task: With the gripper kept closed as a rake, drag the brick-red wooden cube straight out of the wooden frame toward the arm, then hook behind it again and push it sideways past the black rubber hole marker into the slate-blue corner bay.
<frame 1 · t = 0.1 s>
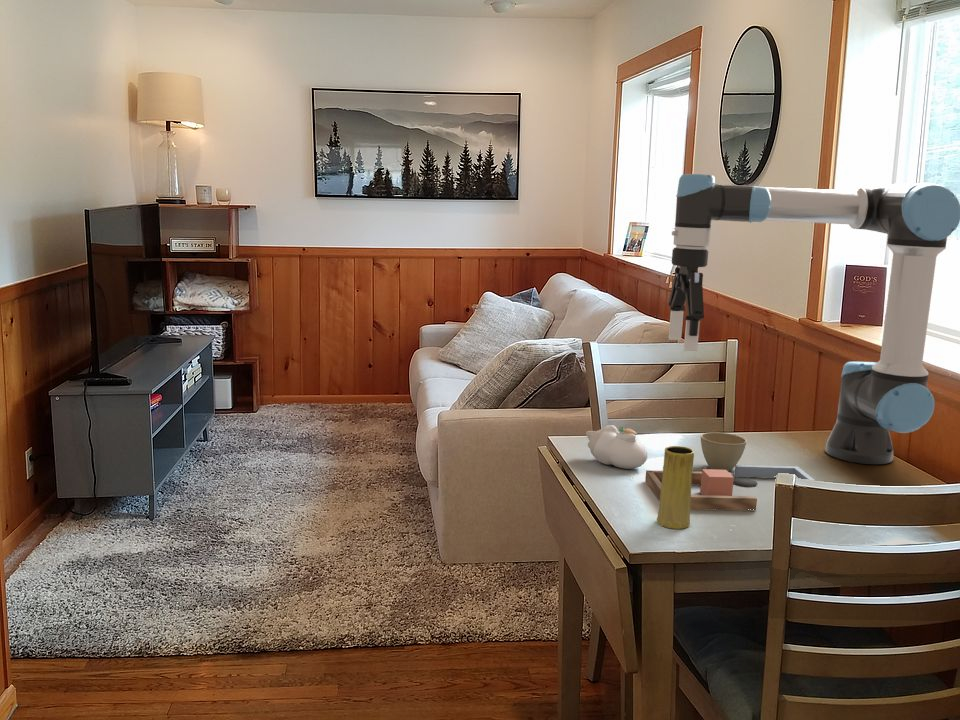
hand: (682, 345, 199), 28 cm above the table, fingers open, 13 cm apart
wooden frame: (701, 495, 186), on the table
beige bowl: (720, 469, 205), on the table
white rounded lumpy piece: (614, 465, 205), on the table
bay: (770, 480, 198), on the table
vase: (673, 524, 170), on the table
hole marker: (744, 482, 195), on the table
cube: (715, 496, 186), on the table
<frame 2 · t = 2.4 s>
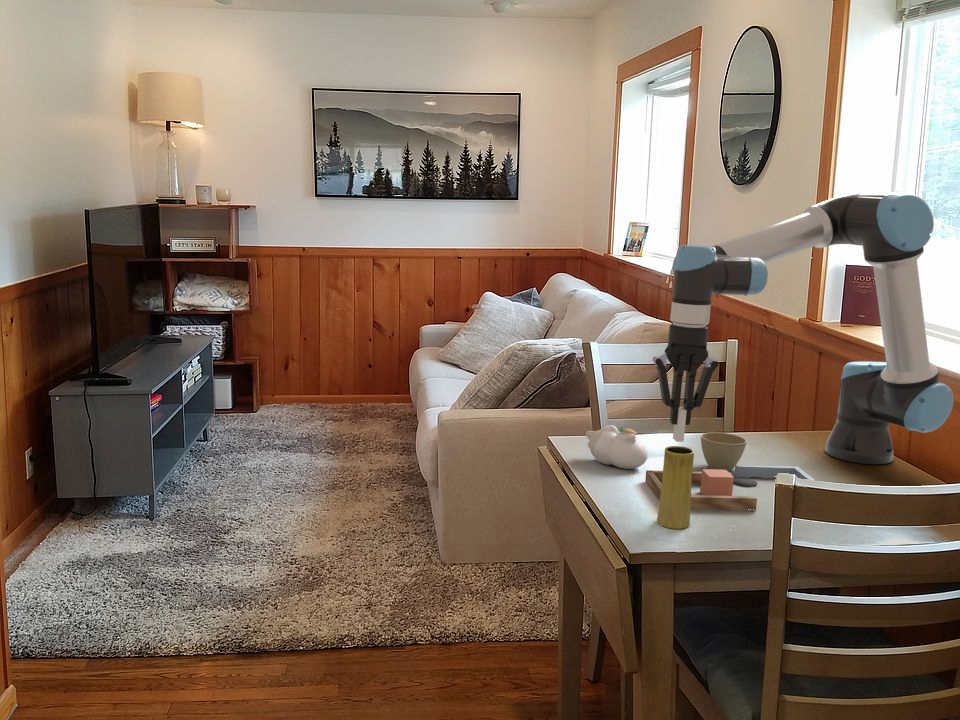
hand: (678, 439, 183), 12 cm above the table, fingers closed
nothing on the table moved.
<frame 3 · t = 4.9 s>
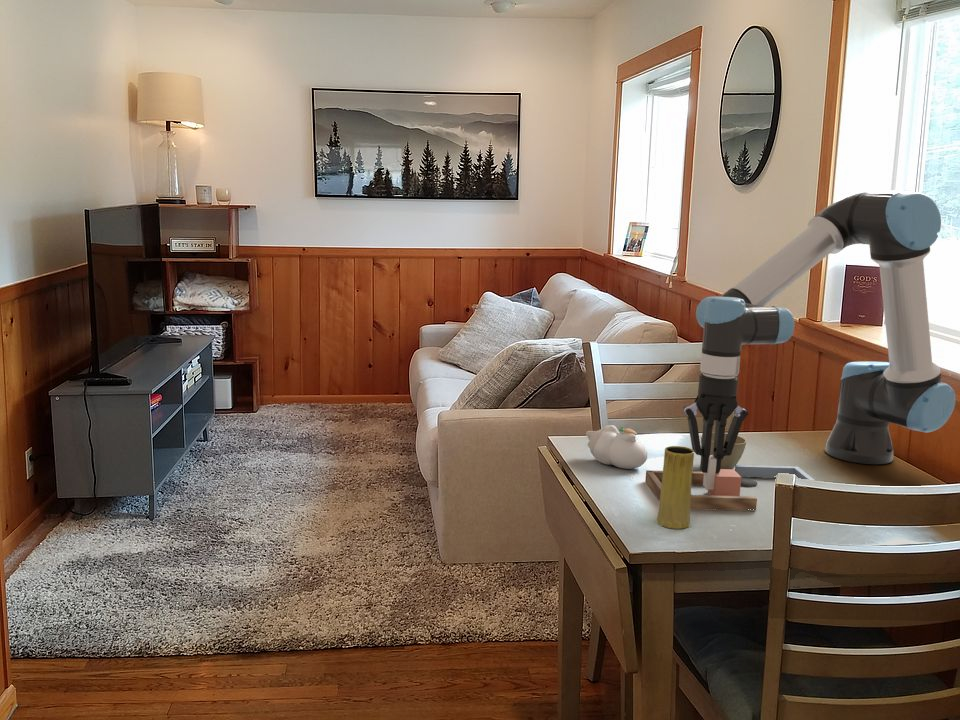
hand: (708, 487, 186), 2 cm above the table, fingers closed
cube: (723, 496, 186), on the table, touching gripper
everything else where it was.
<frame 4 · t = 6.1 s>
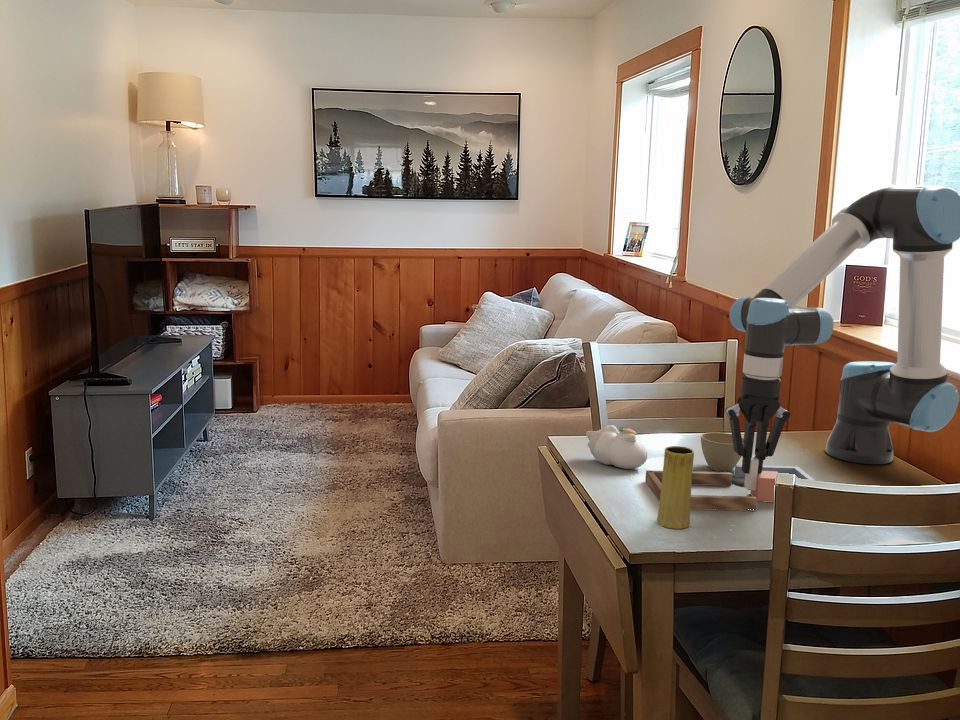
hand: (749, 488, 186), 2 cm above the table, fingers closed
cube: (765, 498, 186), on the table, touching gripper
everything else where it was.
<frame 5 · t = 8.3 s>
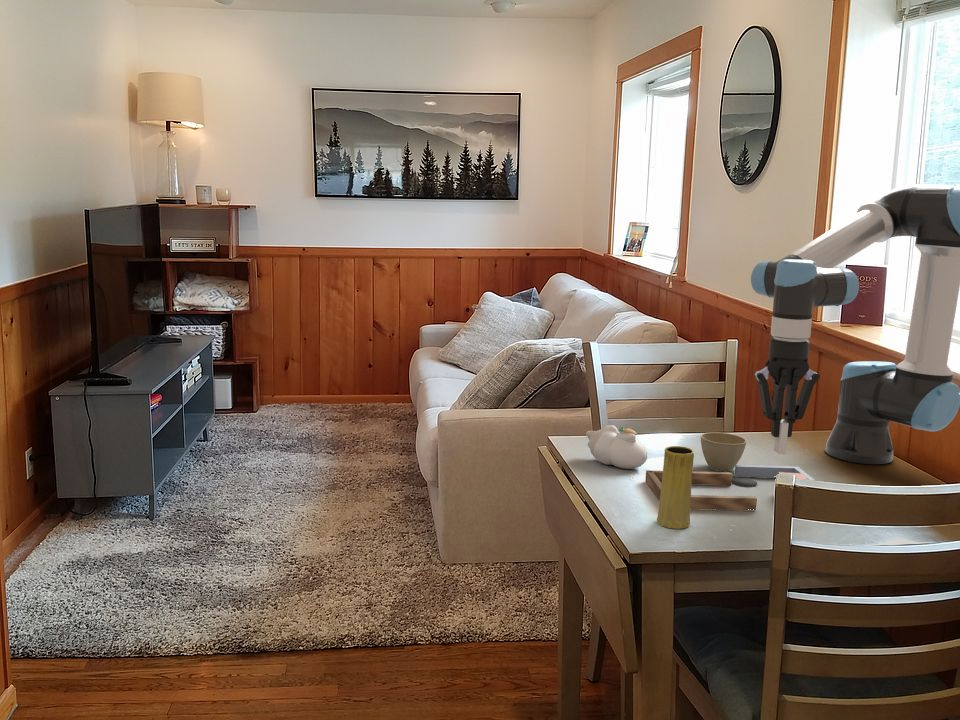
hand: (779, 451, 185), 10 cm above the table, fingers closed
cube: (791, 499, 186), on the table
everything else where it was.
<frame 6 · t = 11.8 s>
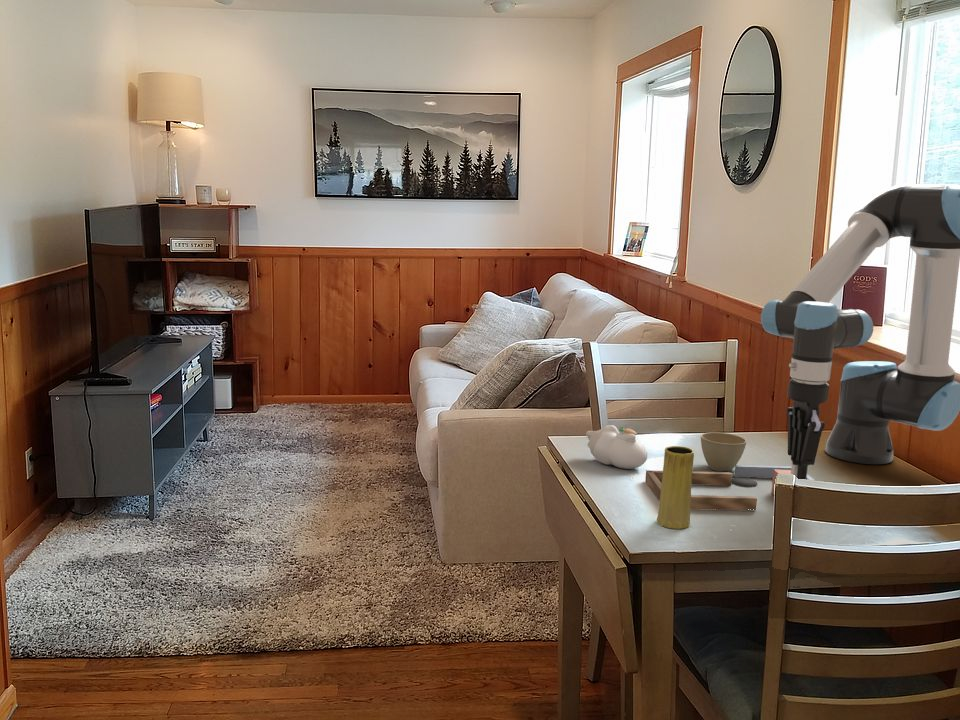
hand: (796, 494, 184), 2 cm above the table, fingers closed
cube: (787, 496, 187), on the table, touching gripper
everything else where it was.
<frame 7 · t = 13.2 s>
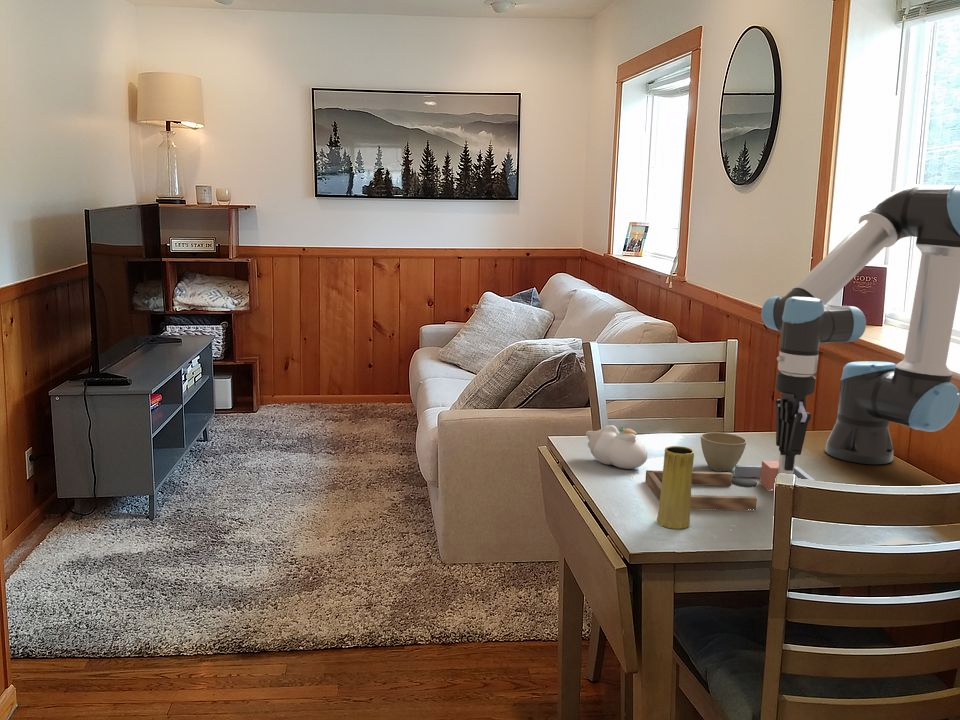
hand: (784, 483, 190), 2 cm above the table, fingers closed
cube: (775, 487, 193), on the table, touching gripper
everything else where it was.
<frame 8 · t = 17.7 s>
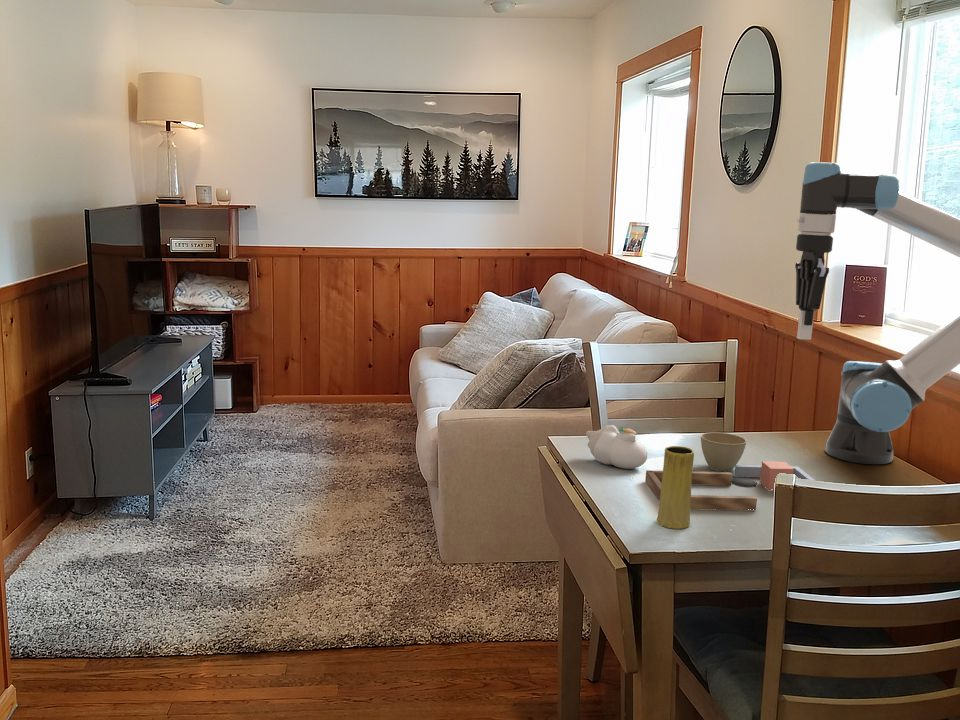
hand: (803, 338, 205), 29 cm above the table, fingers closed
cube: (775, 487, 193), on the table
everything else where it was.
at the end: cube inside the target area (0.5 cm from its centre), on the table; cube tilted 0°; cube touching table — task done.
